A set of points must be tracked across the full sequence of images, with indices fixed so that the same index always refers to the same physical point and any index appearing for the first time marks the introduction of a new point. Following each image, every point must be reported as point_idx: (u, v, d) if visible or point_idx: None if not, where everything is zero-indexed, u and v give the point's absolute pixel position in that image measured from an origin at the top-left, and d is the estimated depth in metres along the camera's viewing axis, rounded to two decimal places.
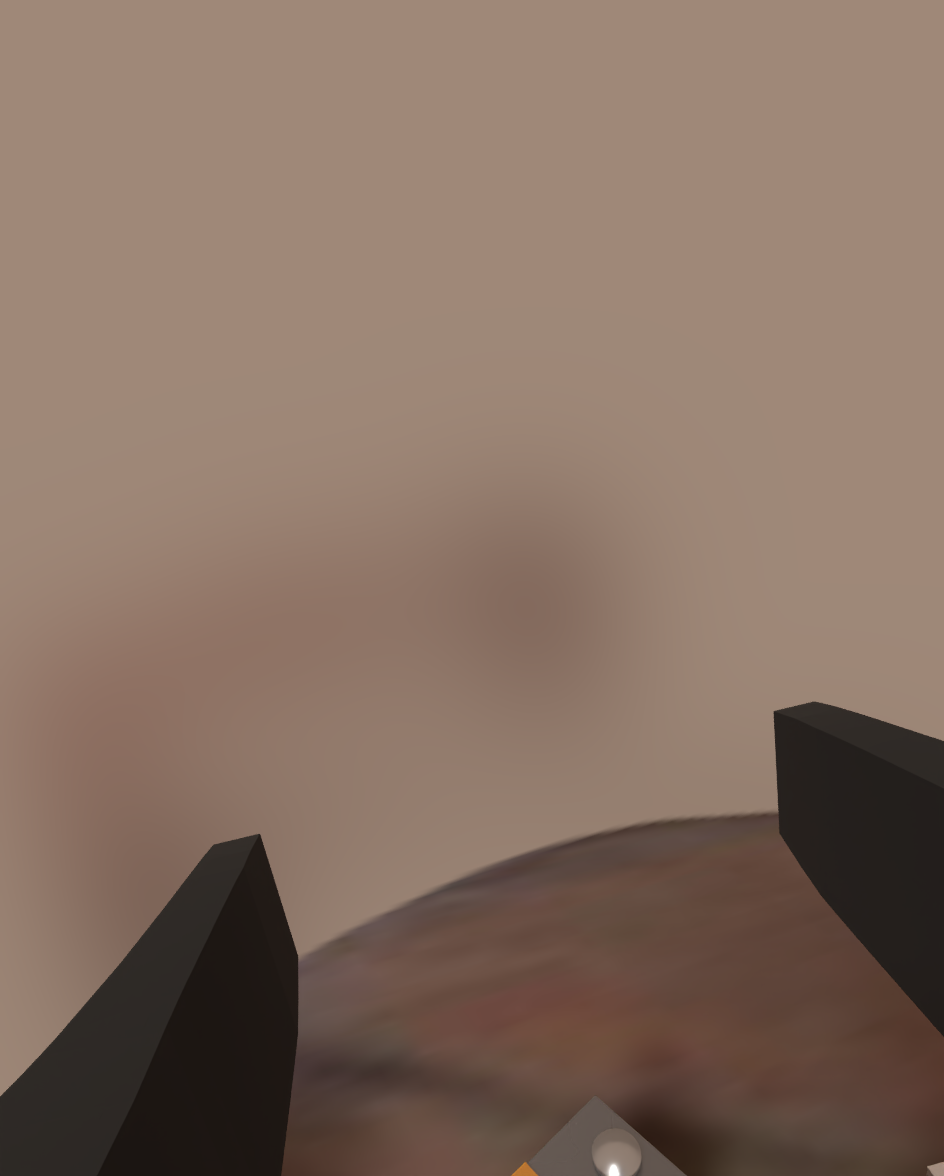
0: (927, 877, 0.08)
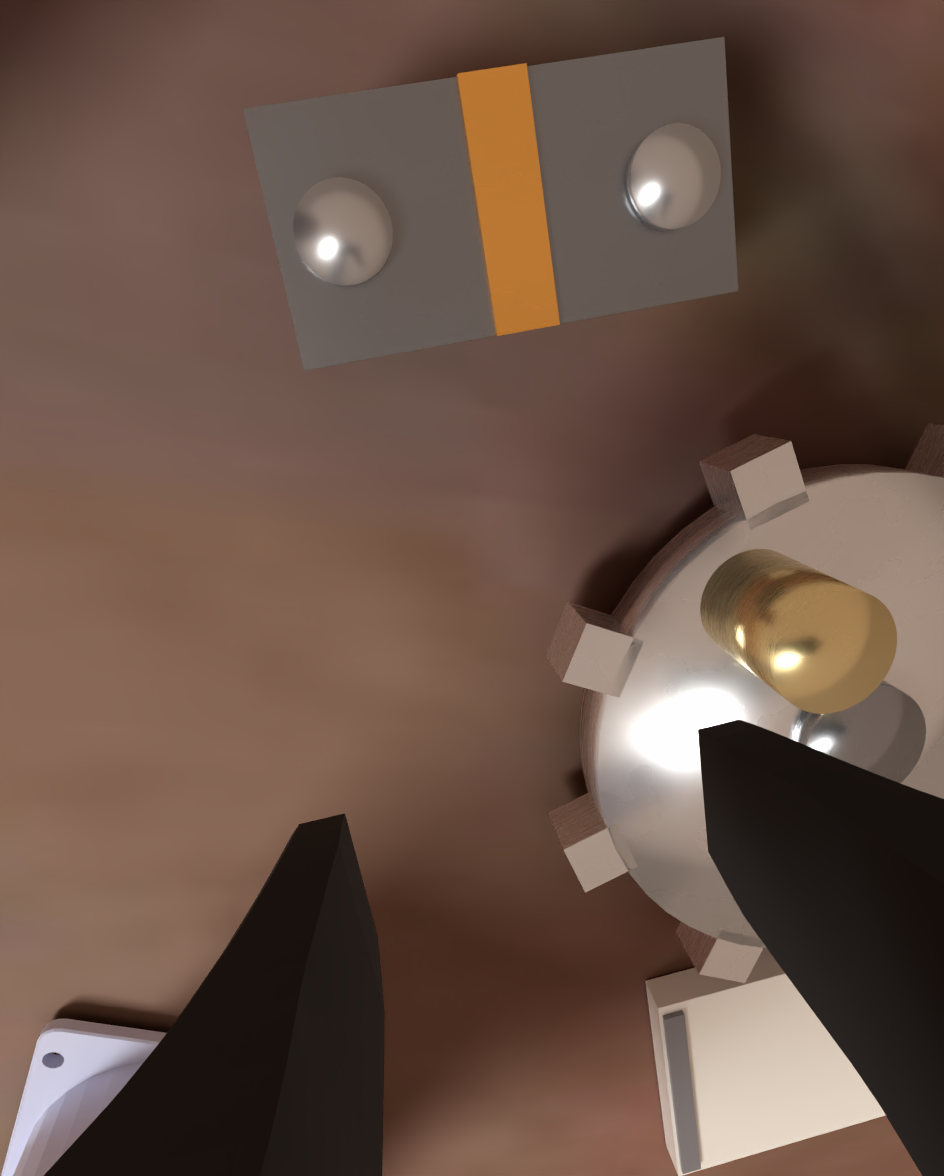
0: (830, 902, 0.08)
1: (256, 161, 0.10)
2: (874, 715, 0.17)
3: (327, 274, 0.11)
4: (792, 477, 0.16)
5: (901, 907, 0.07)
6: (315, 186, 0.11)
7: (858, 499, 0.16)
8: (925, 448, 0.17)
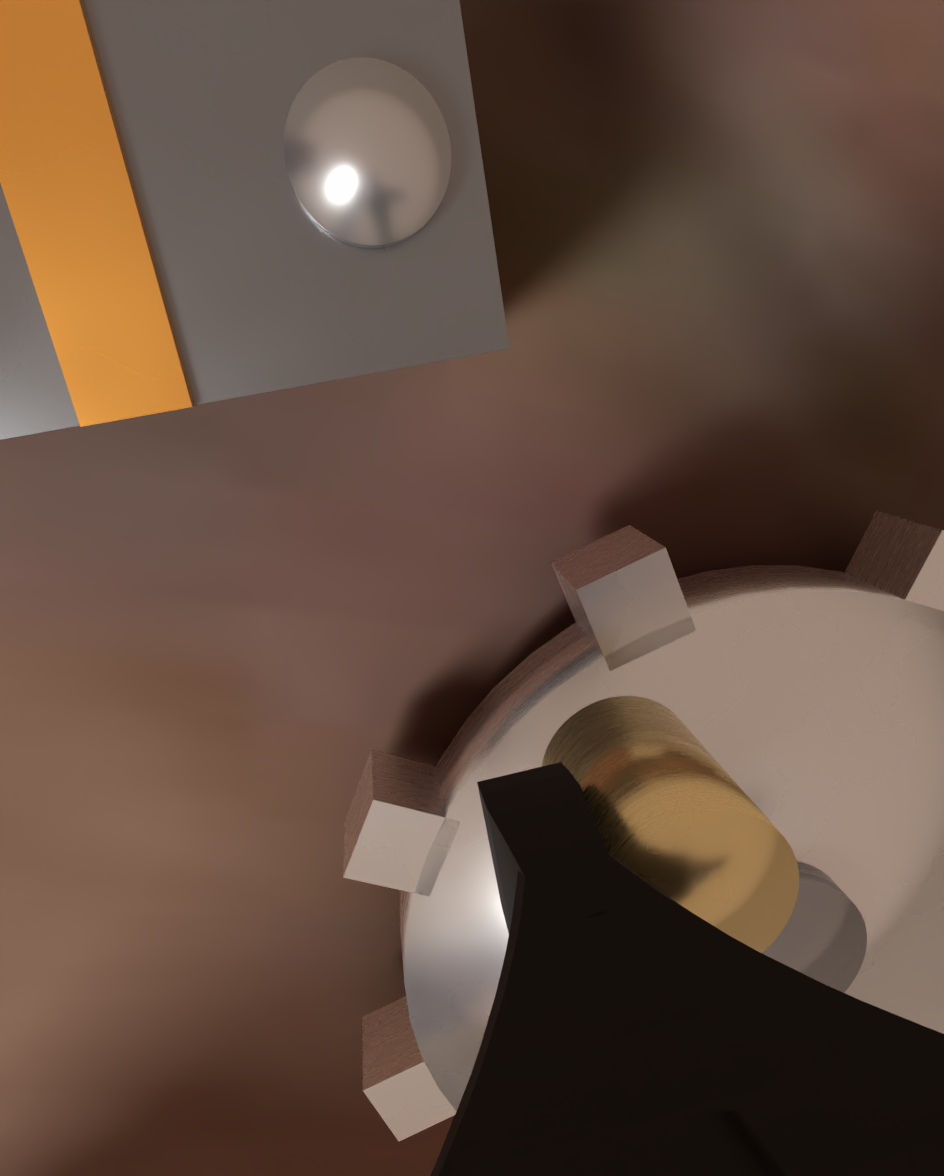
0: None
1: None
2: (793, 920, 0.12)
3: None
4: (670, 597, 0.11)
5: None
6: None
7: (767, 626, 0.11)
8: (872, 546, 0.12)
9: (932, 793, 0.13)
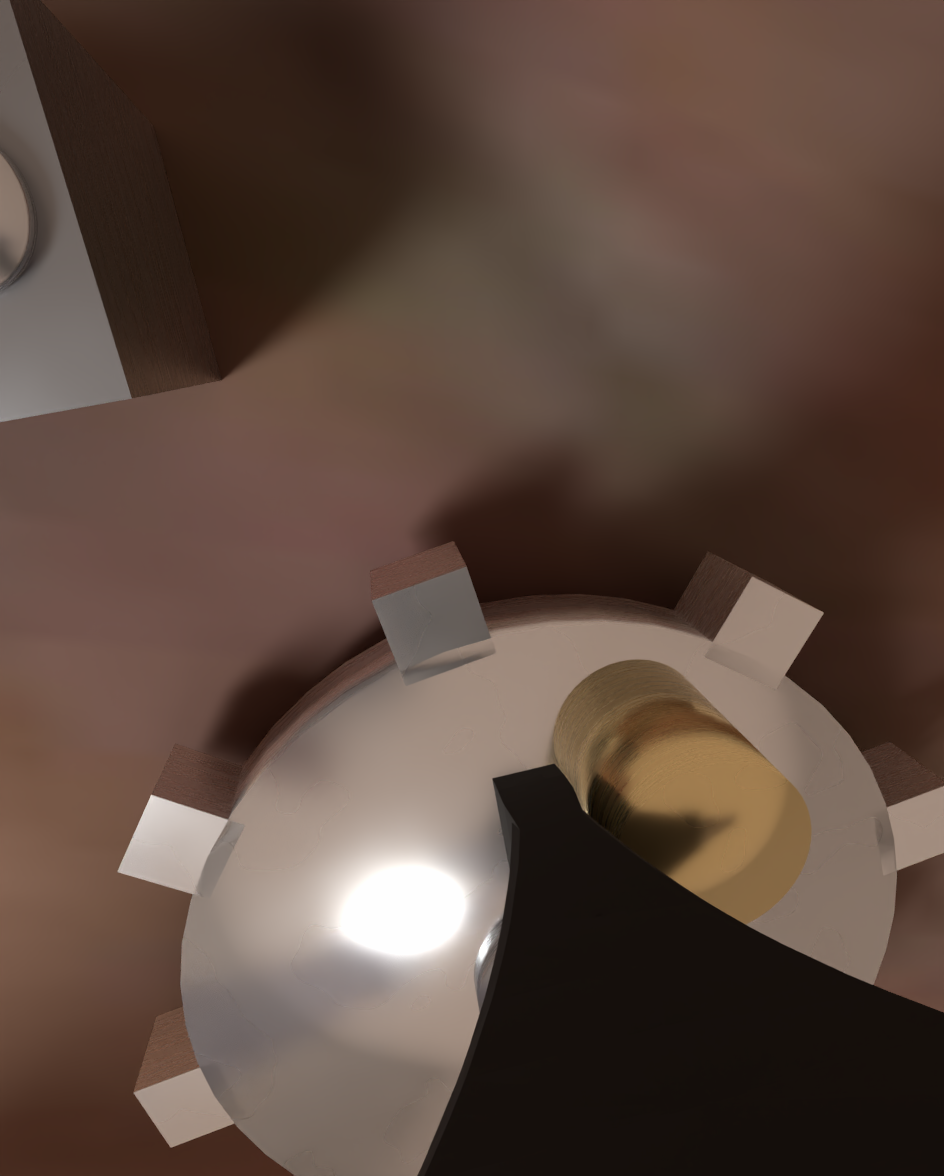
0: None
1: None
2: None
3: None
4: (787, 649, 0.12)
5: None
6: None
7: (810, 736, 0.12)
8: (872, 760, 0.14)
9: None
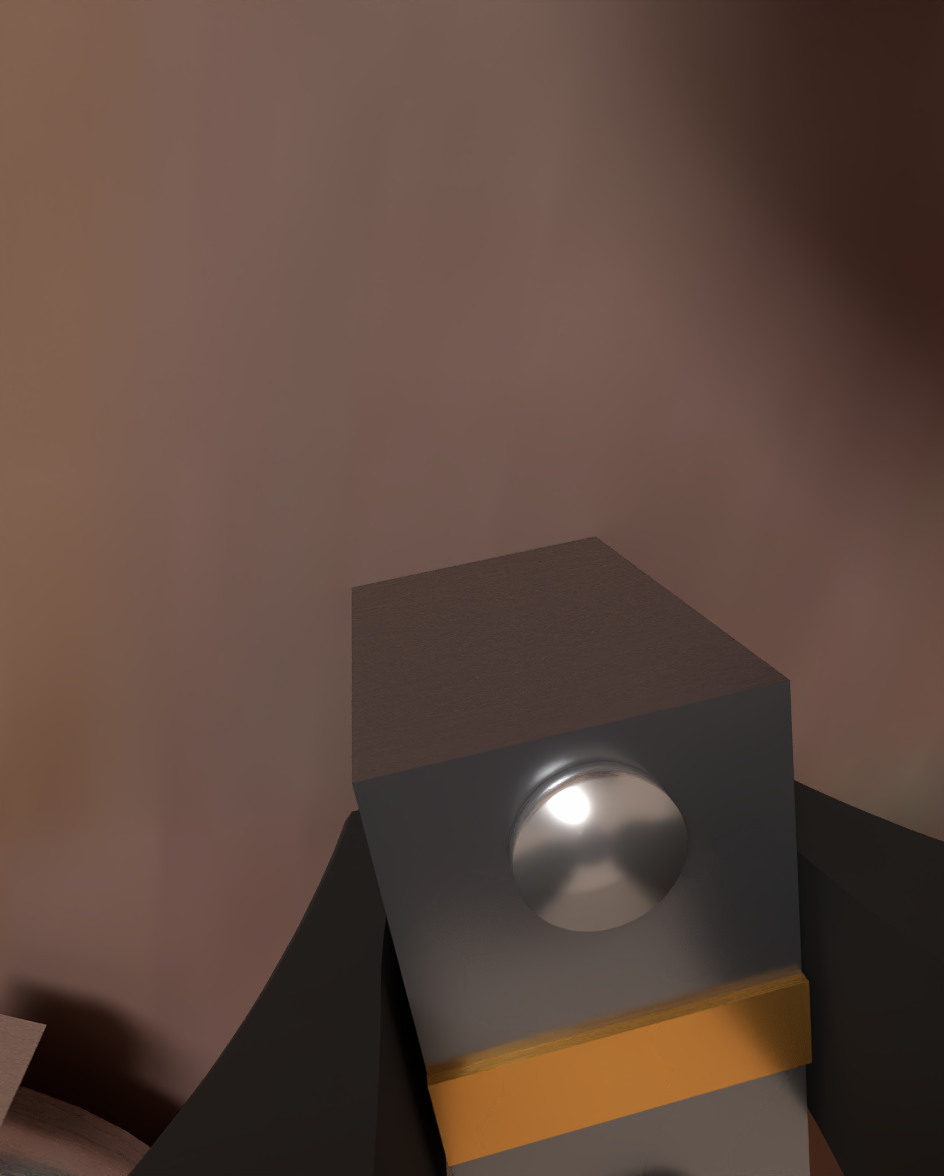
0: None
1: (712, 700, 0.06)
2: None
3: (531, 831, 0.06)
4: None
5: (828, 927, 0.07)
6: (671, 801, 0.06)
7: None
8: None
9: None
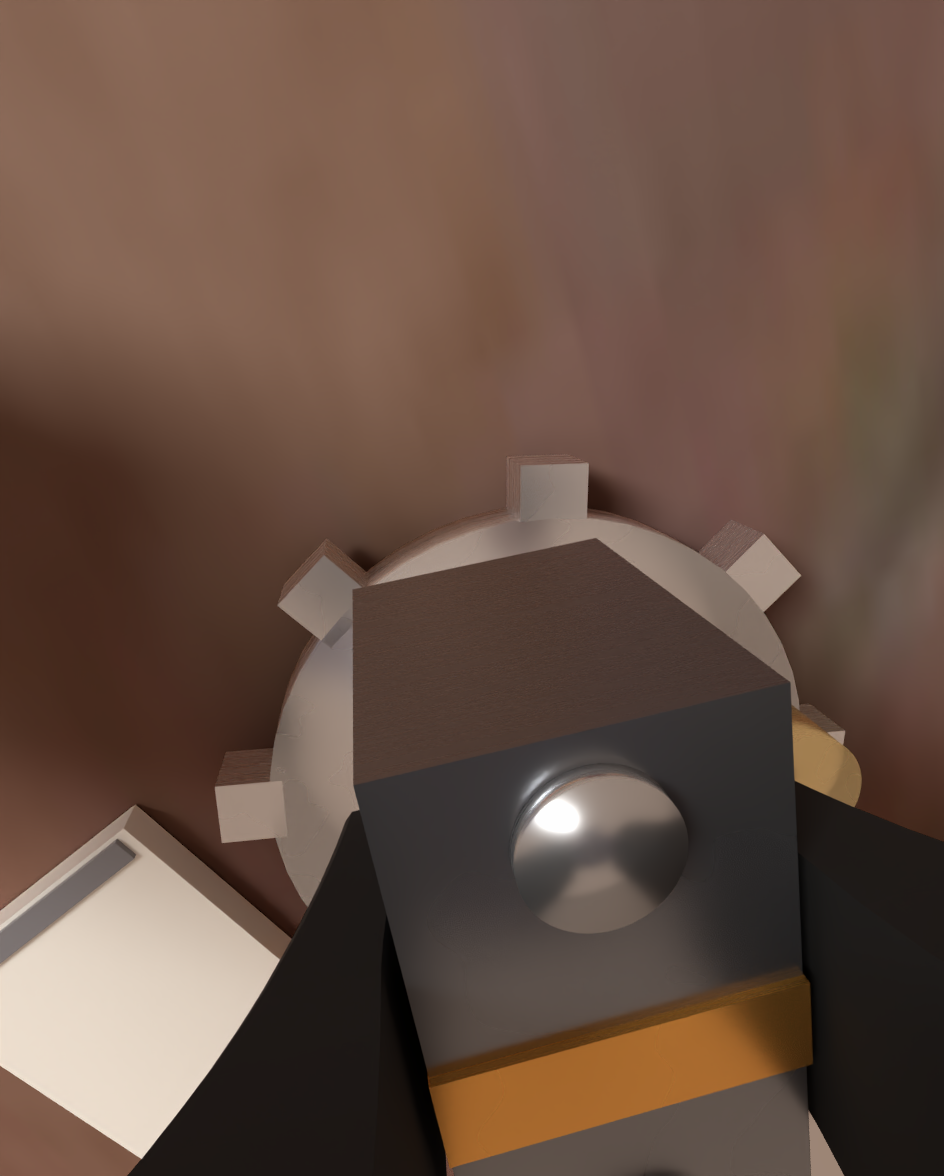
0: None
1: (712, 702, 0.06)
2: None
3: (532, 833, 0.06)
4: None
5: (827, 927, 0.07)
6: (673, 803, 0.06)
7: None
8: None
9: None
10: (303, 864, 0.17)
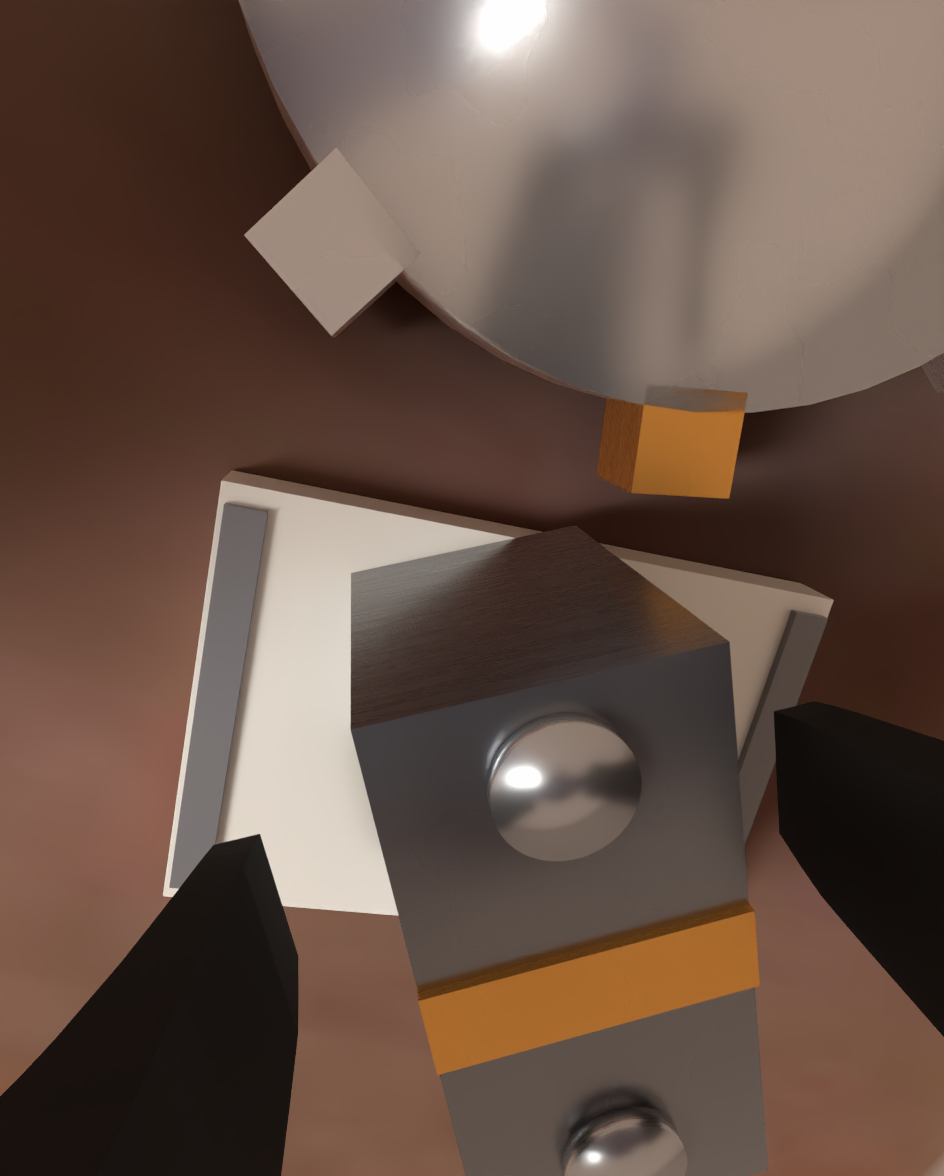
0: (927, 877, 0.08)
1: (661, 659, 0.07)
2: None
3: (505, 772, 0.07)
4: None
5: None
6: (628, 746, 0.07)
7: None
8: None
9: None
10: (480, 291, 0.09)
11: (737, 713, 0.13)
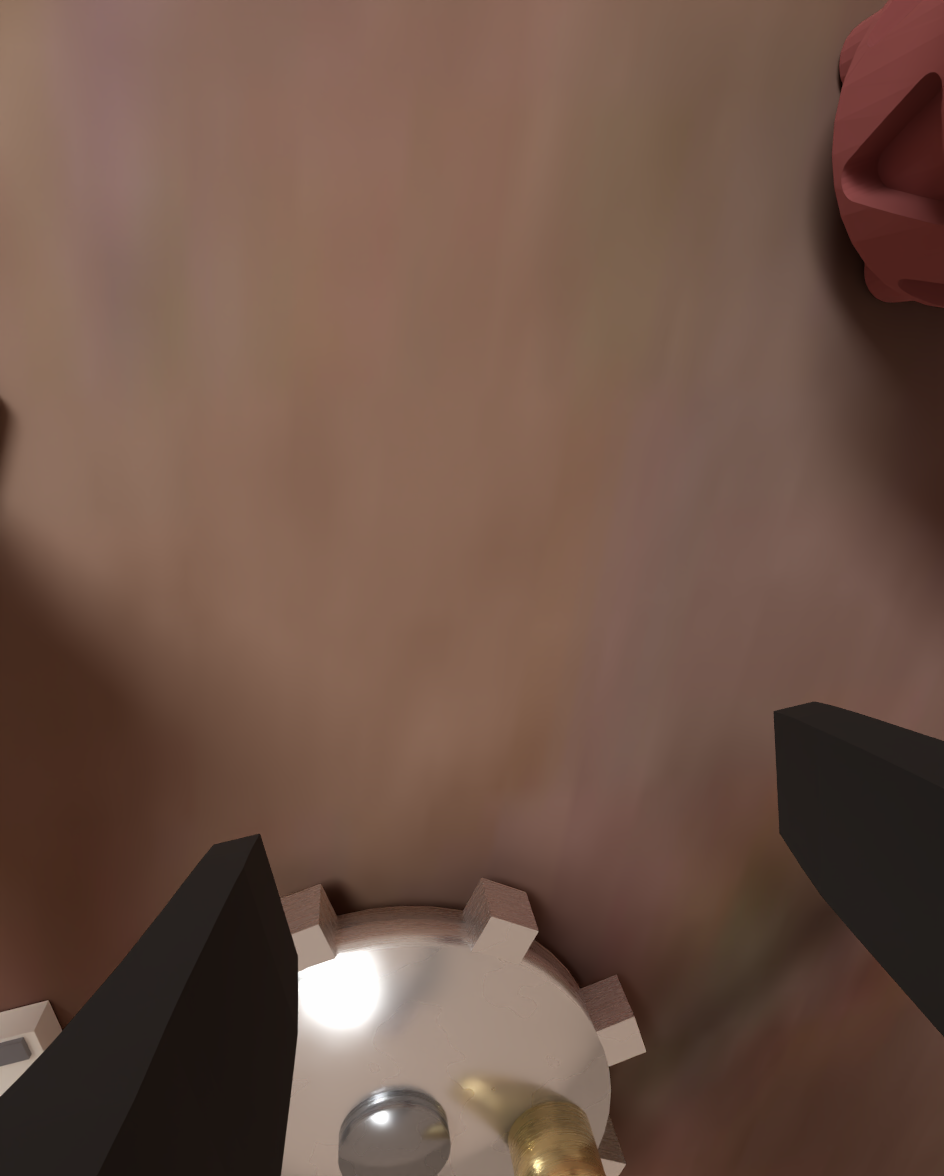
0: (927, 877, 0.08)
1: None
2: (411, 1169, 0.20)
3: None
4: None
5: None
6: None
7: None
8: None
9: None
10: None
11: None
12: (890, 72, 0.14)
